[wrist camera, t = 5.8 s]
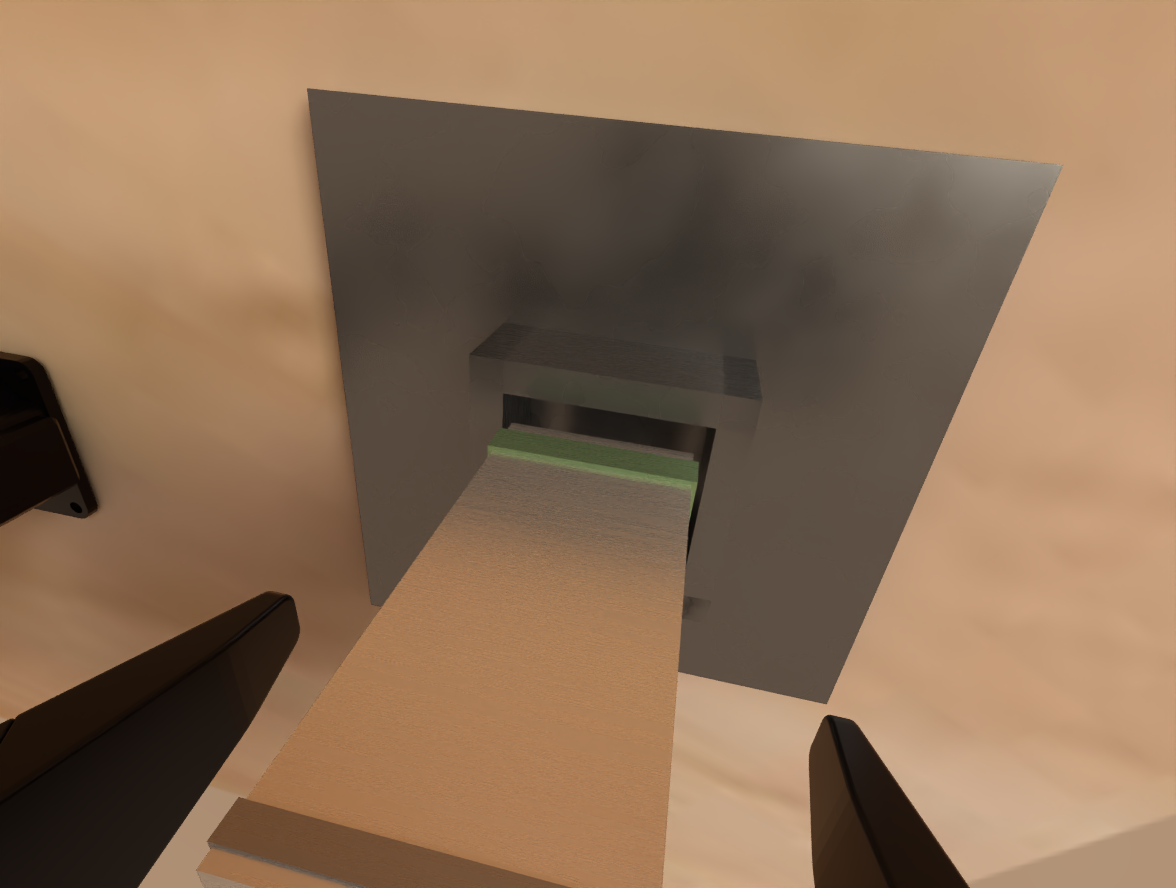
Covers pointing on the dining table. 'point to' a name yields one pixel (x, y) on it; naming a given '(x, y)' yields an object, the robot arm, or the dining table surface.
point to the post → (497, 694)
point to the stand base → (668, 337)
